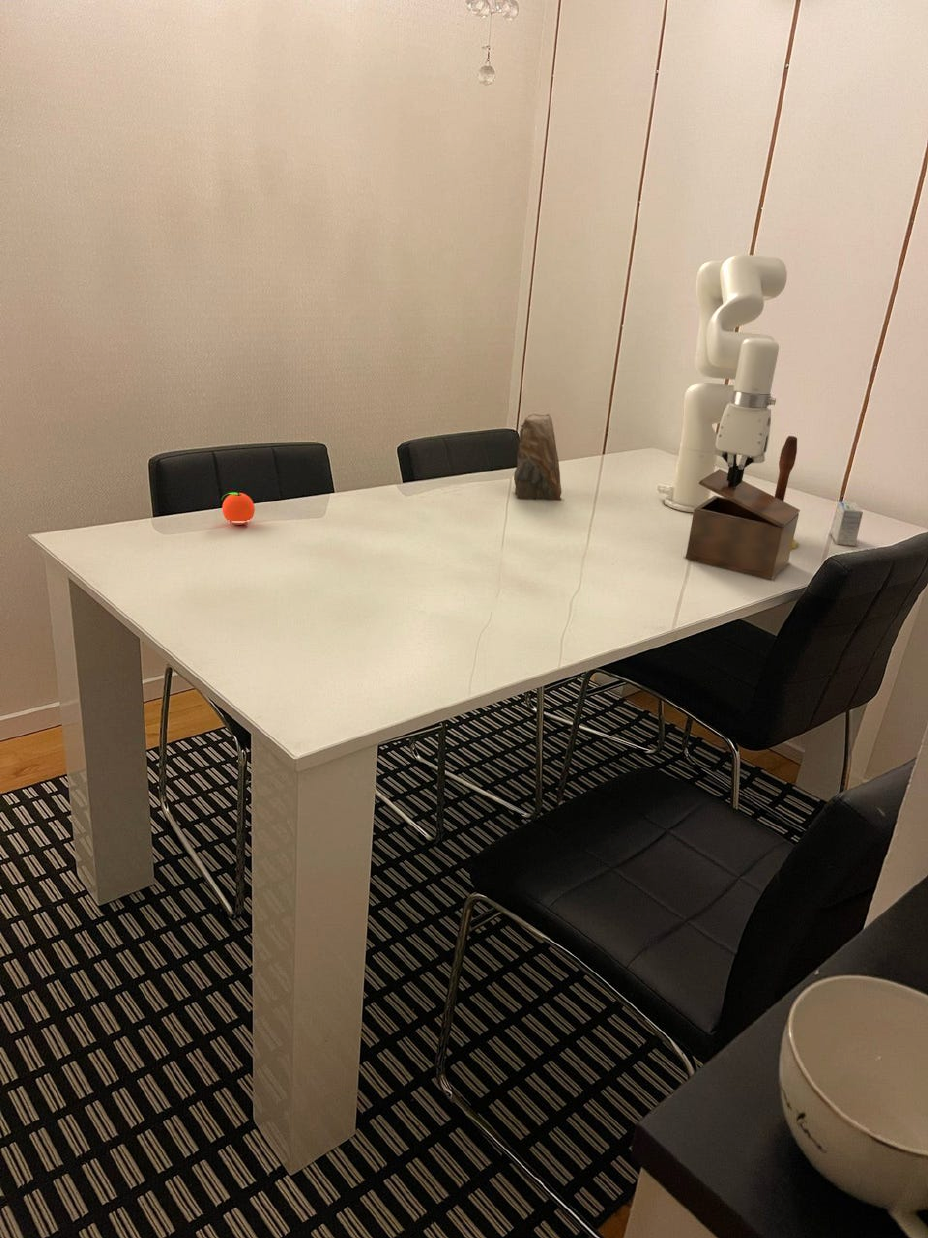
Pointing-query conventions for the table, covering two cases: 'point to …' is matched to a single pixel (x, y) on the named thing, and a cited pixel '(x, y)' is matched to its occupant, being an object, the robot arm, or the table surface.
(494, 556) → the table surface
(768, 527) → the chest
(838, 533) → the medicine box
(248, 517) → the clementine
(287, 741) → the table surface
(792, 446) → the handbell
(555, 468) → the brown rock
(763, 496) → the lid
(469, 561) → the table surface
